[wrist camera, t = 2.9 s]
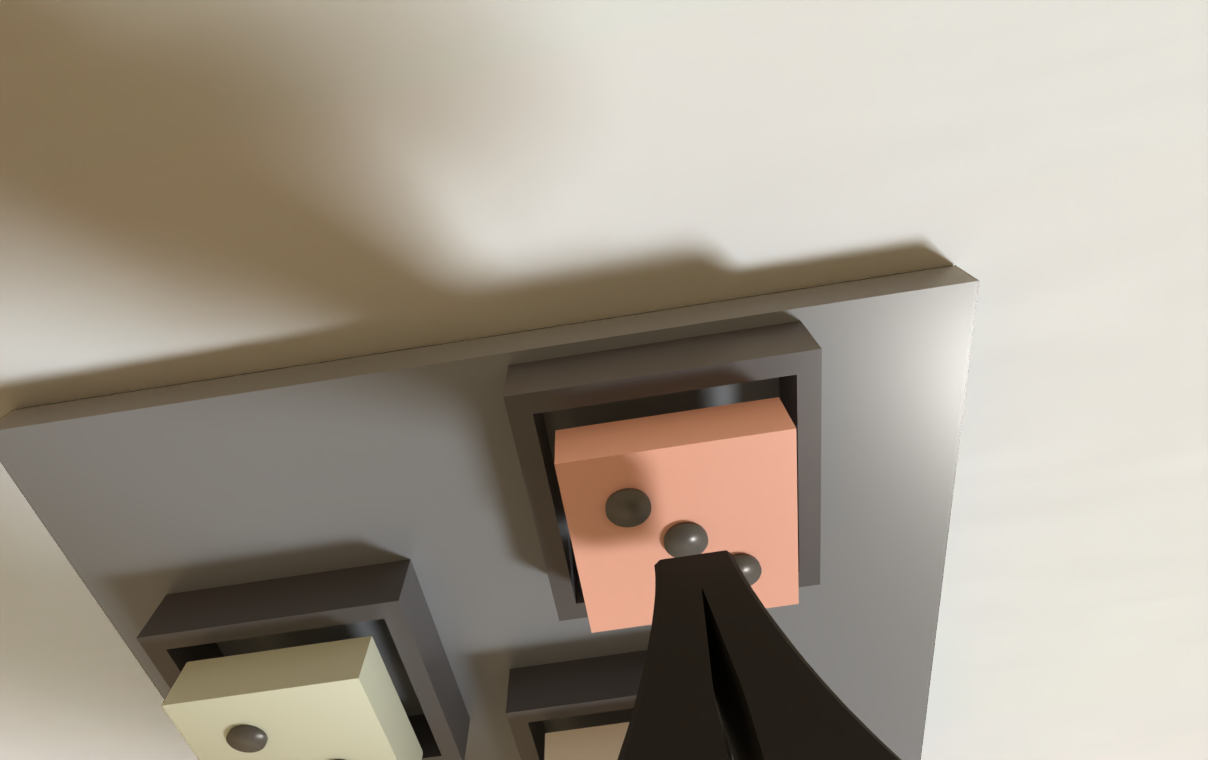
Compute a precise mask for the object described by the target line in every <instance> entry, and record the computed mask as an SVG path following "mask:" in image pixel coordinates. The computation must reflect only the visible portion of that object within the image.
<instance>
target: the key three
mask: <svg viewBox="0 0 1208 760" xmlns="http://www.w3.org/2000/svg"><path fill="white" fill-rule="evenodd" d="M554 465H555V469H556V474H557V478H558V483H559V487H560V492H561V496H562V501H563V505H564V510H565V515H566V519H567V524H568V528H569V533H570V537H571V542H572V546H573V551H574V555H575V560H576V564H577V569H578V574H579V578H580V583H581V587H582V592H583V596H584V601H585V605H586V610H587V614H588V619H589V623H590V628H591V632H592V633H594V632H602V631H609V630H616V629H623V628H630V627H637V626H644V625H651V624H652V619H653V610H654V601H655V568H654V565H655V564H656V563H657V562H658V561H659V560H661V559H668V558H675V557H682V556H689V555H696V554H703V553H710V552H717V551H724V550H727V551H728V552H730V553H731V554H733V556H734V558H735V560H736V562H737V564H738V566H739V568H740V569H741V571H742V573H743V575H744V576H745V578H746V579H747V581H748V583H749V584H750V586H751V587H752V589H753V590H754V592H755V593H756V595H757V596H758V598H759V599H760V601H761V602H762V604H763V605H764V607H765V608H773V607H780V606H787V605H794V604H799V583H798V512H797V441H796V427H795V425H794V423H793V422H792V420H791V418H790V416H789V414H788V412H787V411H786V409H785V407H784V405H783V403H782V402H781V400H780V398H779V397H776V398H769V399H762V400H755V401H749V402H742V403H735V404H729V405H722V406H715V407H708V408H702V409H695V410H688V411H682V412H675V413H668V414H661V415H655V416H648V417H641V418H635V419H628V420H621V421H614V422H608V423H601V424H594V425H588V426H581V427H574V428H568V429H561V430H555V461H554Z"/></svg>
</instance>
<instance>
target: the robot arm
mask: <svg viewBox="0 0 1208 760" xmlns="http://www.w3.org/2000/svg"><path fill="white" fill-rule="evenodd" d="M654 568H655V601H654V610H653V619H652V626H651V632H650V637H649V643H648V649H647V654H646V659H645V664H644V668H643V673H642V677H641V681H640V685H639V689H638V693H637V697H636V701H635V705H634V708H633V712H632V715H631V719H630V722H629V725H628V729H627V732H626V735H625V738H624V741H623V744H622V747H621V750H620V753H619V756H618V759H617V760H729V758H728V754H727V749H726V745H725V741H724V737H723V732H722V728H721V724H720V720H719V715H718V711H717V707H716V703H717V706H718V709H719V713H720V716H721V720H722V723H723V726H724V730H725V733H726V736H727V740H728V743H729V746H730V750H731V753H732V756H733V760H901V759H900V758H899V757H898V756H897V755H896V754H895V753H894V752H893V751H892V750H891V749H889V748H888V747H887V746H886V745H885V744H884V743H883V742H882V741H881V740H880V739H879V738H878V737H877V736H876V735H875V734H874V733H873V732H872V731H871V730H870V729H869V728H868V727H867V726H866V725H865V724H864V723H863V722H862V721H861V720H860V719H859V718H858V717H857V716H856V715H855V714H854V713H853V712H852V711H851V710H850V709H849V708H848V707H847V706H846V705H845V704H844V703H843V702H842V701H841V700H840V699H839V697H838V696H837V695H836V694H835V693H834V692H833V691H832V690H831V689H830V688H829V687H828V685H827V684H826V683H825V682H824V681H823V680H822V679H821V677H820V676H819V675H818V674H817V673H816V672H815V670H814V669H813V668H812V667H811V666H810V665H809V664H808V662H807V661H806V660H805V659H804V658H803V656H802V655H801V654H800V653H799V651H798V650H797V649H796V648H795V647H794V645H793V644H792V643H791V641H790V640H789V639H788V637H787V636H786V635H785V634H784V632H783V631H782V630H781V628H780V627H779V626H778V624H777V623H776V622H775V621H774V619H773V618H772V616H771V615H770V614H769V612H768V611H767V609H766V608H765V607H764V605H763V604H762V602H761V601H760V599H759V598H758V596H757V595H756V593H755V592H754V590H753V589H752V587H751V586H750V584H749V583H748V581H747V579H746V578H745V576H744V575H743V573H742V571H741V569H740V568H739V566H738V564H737V562H736V560H735V558H734V556H733V554H731V553H730V552H728V551H727V550H724V551H717V552H710V553H703V554H696V555H689V556H682V557H675V558H668V559H661V560H659V561H658V562H657V563H656V564H655V565H654ZM715 699H716V701H715Z"/></svg>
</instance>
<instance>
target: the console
mask: <svg viewBox="0 0 1208 760" xmlns="http://www.w3.org/2000/svg"><path fill="white" fill-rule="evenodd" d="M978 286H979V280H977V279H976V278H974V277H973V276H971V275H970V274H968V273H966V272H965V271H963V270H962V269H960V268H959V267H957V266H956V265H955V266H949V267H942V268H936V269H929V270H923V271H916V272H910V273H903V274H897V275H890V276H884V277H877V278H870V279H864V280H857V281H851V282H844V283H838V284H831V285H825V286H818V287H812V288H805V289H799V290H792V291H786V292H779V293H773V294H766V295H760V296H753V297H747V298H740V299H733V300H727V301H720V302H714V303H707V304H701V305H694V306H688V307H681V308H675V309H668V310H662V311H655V312H649V313H642V314H636V315H629V316H623V317H616V318H610V319H603V320H596V321H590V322H583V323H577V324H570V325H564V326H557V327H551V328H544V329H538V330H531V331H525V332H518V333H512V334H505V335H499V336H492V337H486V338H479V339H473V340H466V341H459V342H453V343H446V344H440V345H433V346H427V347H420V348H414V349H407V350H401V351H394V352H388V353H381V354H375V355H368V356H362V357H355V358H349V359H342V360H336V361H329V362H323V363H316V364H309V365H303V366H296V367H290V368H283V369H277V370H270V371H264V372H257V373H251V374H244V375H238V376H231V377H225V378H218V379H212V380H205V381H199V382H192V383H186V384H179V385H172V386H166V387H159V388H153V389H146V390H140V391H133V392H127V393H120V394H114V395H107V396H101V397H94V398H88V399H81V400H75V401H68V402H62V403H55V404H49V405H42V406H35V407H29V408H22V409H16V410H12V411H11V412H9V413H8V414H6V415H5V416H4V417H2V418H1V419H0V462H1V464H2V465H3V466H4V468H5V469H6V471H7V472H8V474H9V475H10V477H11V478H12V479H13V481H14V482H15V484H16V485H17V487H18V488H19V490H20V491H21V492H22V494H23V495H24V497H25V498H26V500H27V501H28V503H29V504H30V506H31V507H32V508H33V510H34V511H35V513H36V514H37V516H38V517H39V519H40V520H41V521H42V523H43V524H44V526H45V527H46V529H47V530H48V532H49V533H50V534H51V536H52V537H53V539H54V540H55V542H56V543H57V545H58V546H59V547H60V549H61V550H62V552H63V553H64V555H65V556H66V558H67V559H68V561H69V562H70V563H71V565H72V566H73V568H74V569H75V571H76V572H77V574H78V575H79V576H80V578H81V579H82V581H83V582H84V584H85V585H86V587H87V588H88V589H89V591H90V592H91V594H92V595H93V597H94V598H95V600H96V601H97V602H98V604H99V605H100V607H101V608H102V610H103V611H104V613H105V614H106V616H107V617H108V618H109V620H110V621H111V623H112V624H113V626H114V627H115V629H116V630H117V631H118V633H119V634H120V636H121V637H122V639H123V640H124V642H125V643H126V644H127V646H128V647H129V649H130V650H131V652H132V653H133V655H134V656H135V657H136V659H137V660H138V662H139V663H140V665H141V666H142V668H143V669H144V671H145V672H146V673H147V675H148V676H149V678H150V679H151V681H152V682H153V684H154V685H155V686H156V688H157V689H158V691H159V692H160V694H161V695H162V697H163V698H164V699H166V697H167V695H168V693H169V692H170V690H171V688H172V687H173V685H174V683H175V682H176V680H177V678H178V676H179V675H180V673H181V671H182V670H183V668H184V666H185V665H186V663H187V662H190V661H197V660H204V659H211V658H218V657H226V656H233V655H240V654H247V653H254V652H261V651H268V650H275V649H282V648H289V647H296V646H303V645H310V644H317V643H325V642H332V641H339V640H346V639H353V638H360V637H367V636H372V637H373V639H374V642H375V644H376V646H377V649H378V651H379V653H380V655H381V658H382V660H383V662H384V664H385V667H386V669H387V671H388V674H389V676H390V678H391V680H392V683H393V685H394V687H395V689H396V692H397V694H398V696H399V699H400V701H401V703H402V705H403V708H404V710H405V712H406V714H407V717H408V719H409V721H410V724H411V726H412V728H413V730H414V733H415V735H416V737H417V739H418V742H419V744H420V746H421V749H422V751H423V756H422V760H544V752H545V733H551V732H558V731H566V730H573V729H580V728H588V727H595V726H602V725H610V724H617V723H624V722H630V719H631V715H632V712H633V708H634V705H635V701H636V697H637V693H638V689H639V685H640V681H641V677H642V673H643V668H644V664H645V659H646V654H647V649H648V643H649V637H650V632H651V626H652V624H651V625H644V626H637V627H630V628H623V629H616V630H609V631H602V632H594V633H592V632H591V628H590V623H589V619H588V614H587V610H586V605H585V601H584V596H583V592H582V587H581V583H580V578H579V574H578V569H577V564H576V560H575V555H574V551H573V546H572V542H571V537H570V533H569V528H568V524H567V519H566V515H565V510H564V505H563V501H562V496H561V492H560V487H559V483H558V478H557V474H556V469H555V465H554V461H555V430H561V429H568V428H574V427H581V426H588V425H594V424H601V423H608V422H614V421H621V420H628V419H635V418H641V417H648V416H655V415H661V414H668V413H675V412H682V411H688V410H695V409H702V408H708V407H715V406H722V405H729V404H735V403H742V402H749V401H755V400H762V399H769V398H776V397H779V398H780V400H781V402H782V403H783V405H784V407H785V409H786V411H787V412H788V414H789V416H790V418H791V420H792V422H793V423H794V425H795V427H796V441H797V512H798V583H799V604H794V605H787V606H780V607H773V608H766V609H767V611H768V612H769V614H770V615H771V616H772V618H773V619H774V621H775V622H776V623H777V624H778V626H779V627H780V628H781V630H782V631H783V632H784V634H785V635H786V636H787V637H788V639H789V640H790V641H791V643H792V644H793V645H794V647H795V648H796V649H797V650H798V651H799V653H800V654H801V655H802V656H803V658H804V659H805V660H806V661H807V662H808V664H809V665H810V666H811V667H812V668H813V669H814V670H815V672H816V673H817V674H818V675H819V676H820V677H821V679H822V680H823V681H824V682H825V683H826V684H827V685H828V687H829V688H830V689H831V690H832V691H833V692H834V693H835V694H836V695H837V696H838V697H839V699H840V700H841V701H842V702H843V703H844V704H845V705H846V706H847V707H848V708H849V709H850V710H851V711H852V712H853V713H854V714H855V715H856V716H857V717H858V718H859V719H860V720H861V721H862V722H863V723H864V724H865V725H866V726H867V727H868V728H869V729H870V730H871V731H872V732H873V733H874V734H875V735H876V736H877V737H878V738H879V739H880V740H881V741H882V742H883V743H884V744H885V745H886V746H887V747H888V748H889V749H891V750H892V751H893V752H894V753H895V754H896V755H897V756H898V757H899V758H900V759H901V760H921V753H922V744H923V736H924V728H925V720H926V712H927V704H928V695H929V687H930V679H931V671H932V663H933V654H934V646H935V638H936V630H937V622H938V613H939V605H940V597H941V589H942V581H943V572H944V564H945V556H946V548H947V540H948V532H949V523H950V515H951V507H952V499H953V491H954V482H955V474H956V466H957V458H958V450H959V441H960V433H961V425H962V417H963V409H964V401H965V392H966V384H967V376H968V368H969V360H970V351H971V343H972V335H973V327H974V319H975V310H976V302H977V294H978ZM715 701H716V699H715ZM716 707H717V711H718V715H719V720H720V724H721V728H722V732H723V737H724V741H725V745H726V749H727V754H728V758H729V760H733V756H732V753H731V750H730V746H729V743H728V740H727V736H726V733H725V730H724V726H723V723H722V720H721V716H720V713H719V709H718V706H717V703H716Z"/></svg>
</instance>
